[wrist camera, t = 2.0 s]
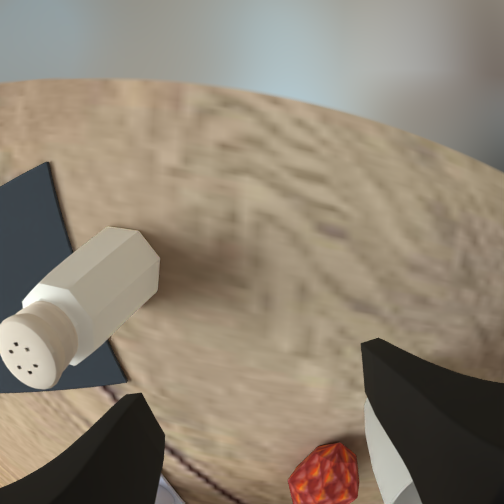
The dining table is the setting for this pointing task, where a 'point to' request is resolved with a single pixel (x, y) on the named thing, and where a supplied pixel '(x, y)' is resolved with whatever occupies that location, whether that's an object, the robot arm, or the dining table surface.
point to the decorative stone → (326, 477)
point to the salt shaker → (79, 306)
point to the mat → (40, 271)
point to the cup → (388, 464)
